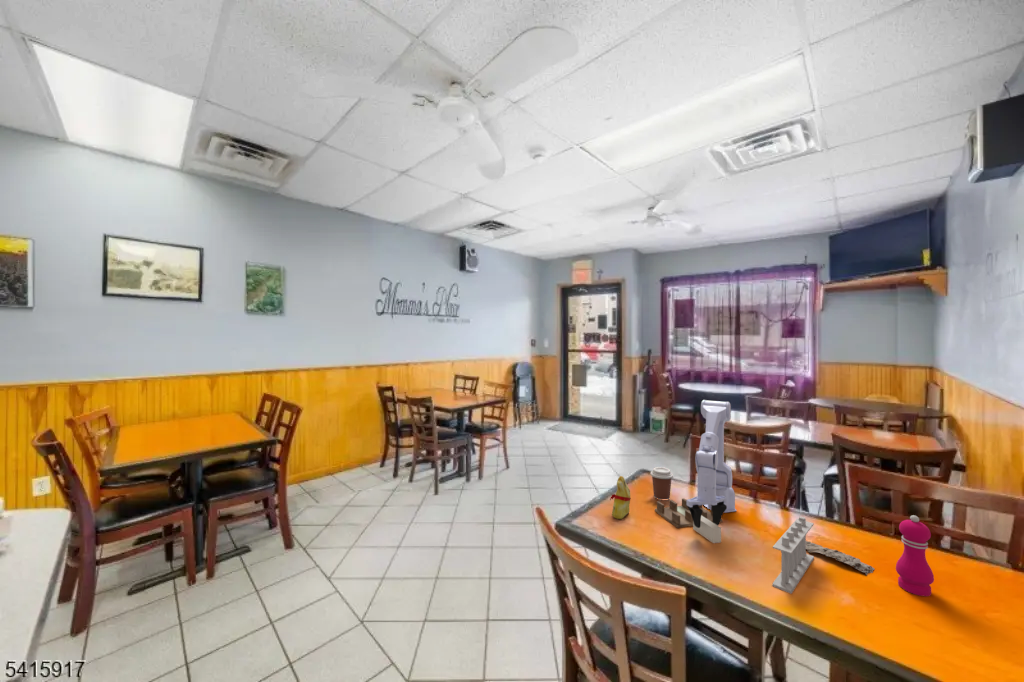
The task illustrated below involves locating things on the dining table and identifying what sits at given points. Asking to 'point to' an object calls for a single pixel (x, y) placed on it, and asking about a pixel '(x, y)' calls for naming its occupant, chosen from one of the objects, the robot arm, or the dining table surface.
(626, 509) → the chocolate bunny
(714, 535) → the cream rectangular block
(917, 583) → the pepper mill
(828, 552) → the stone fragment
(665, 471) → the coffee cup
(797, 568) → the test tube rack
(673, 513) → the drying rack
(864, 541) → the dining table surface
